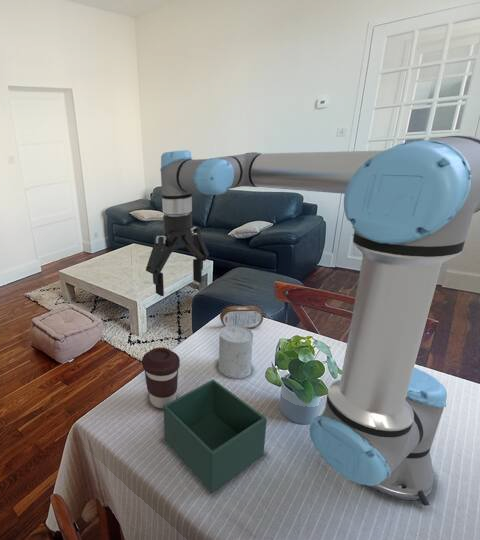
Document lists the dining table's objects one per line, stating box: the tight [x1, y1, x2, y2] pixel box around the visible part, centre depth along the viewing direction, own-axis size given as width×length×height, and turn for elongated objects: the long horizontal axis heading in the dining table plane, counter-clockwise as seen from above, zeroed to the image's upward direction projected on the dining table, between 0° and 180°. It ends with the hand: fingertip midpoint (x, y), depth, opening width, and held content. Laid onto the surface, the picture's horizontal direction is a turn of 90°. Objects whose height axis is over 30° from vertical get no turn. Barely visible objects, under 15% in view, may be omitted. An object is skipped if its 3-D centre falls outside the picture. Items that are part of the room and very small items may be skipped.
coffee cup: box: [141, 346, 181, 409], centre depth 91 cm, size 10×10×15 cm
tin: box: [219, 305, 264, 329], centre depth 123 cm, size 15×3×8 cm, turn 84°
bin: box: [162, 379, 268, 494], centre depth 76 cm, size 16×16×11 cm
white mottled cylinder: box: [217, 325, 254, 379], centre depth 101 cm, size 10×10×12 cm
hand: (179, 287), depth 95 cm, fingers open, 13 cm apart
